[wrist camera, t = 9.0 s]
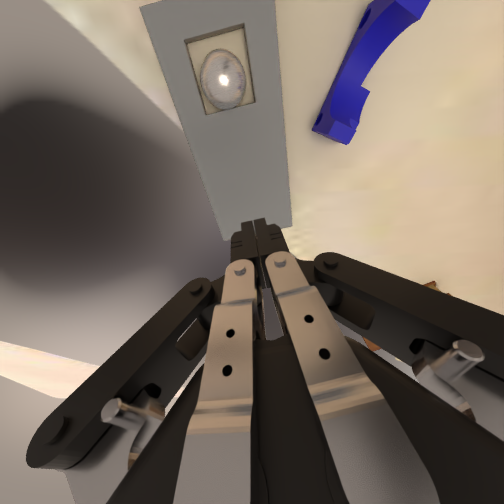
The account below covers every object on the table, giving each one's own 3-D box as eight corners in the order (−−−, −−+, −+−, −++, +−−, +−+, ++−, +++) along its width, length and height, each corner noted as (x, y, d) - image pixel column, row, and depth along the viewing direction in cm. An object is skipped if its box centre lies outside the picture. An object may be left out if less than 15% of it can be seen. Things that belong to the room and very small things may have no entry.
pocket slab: (144, 13, 19) (139, 7, 18) (269, -24, 18) (272, -33, 17) (224, 236, 36) (223, 241, 35) (290, 222, 36) (292, 226, 34)
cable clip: (337, 141, 28) (358, 148, 23) (311, 130, 27) (328, 134, 22) (398, 27, 21) (445, 4, 17) (367, 5, 20) (408, -27, 15)
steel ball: (188, 47, 18) (206, 111, 20) (239, 32, 17) (251, 99, 20) (198, 65, 22) (212, 116, 25) (239, 53, 22) (249, 106, 24)
